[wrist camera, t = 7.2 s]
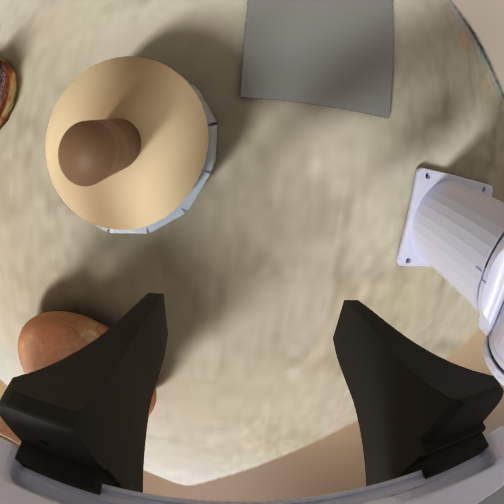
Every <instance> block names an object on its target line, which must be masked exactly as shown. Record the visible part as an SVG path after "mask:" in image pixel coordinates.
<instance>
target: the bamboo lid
mask: <svg viewBox="0 0 504 504" xmlns="http://www.w3.org/2000/svg"><path fill="white" fill-rule="evenodd" d="M208 140H209V133H208V123H207V118H206V114H205V111H204V108H203V105H202V103H201V101H200V99H199V97H198V95H197V93H196V92H195V91H194V89H193V88H192V87H191V85H190V84H189V83H188V82H187V81H186V80H185V79H184V78H183V77H182V76H181V75H179V74H178V73H177V72H175V71H174V70H173V69H171V68H170V67H168V66H166V65H164V64H162V63H160V62H158V61H155V60H152V59H149V58H143V57H129V56H127V57H119V58H114V59H110V60H106V61H104V62H101V63H99V64H97V65H94V66H93V67H91V68H89V69H88V70H86V71H85V72H83V73H82V74H81V75H79V76H78V77H77V78H76V79H75V80H74V81H73V82H72V83H71V84H70V85H69V86H68V87H67V89H66V90H65V91H64V92H63V94H62V95H61V97H60V99H59V100H58V102H57V104H56V106H55V108H54V110H53V112H52V115H51V118H50V121H49V124H48V129H47V134H46V160H47V166H48V170H49V174H50V177H51V179H52V182H53V184H54V186H55V188H56V190H57V192H58V194H59V195H60V197H61V198H62V199H63V201H64V202H65V203H66V204H67V205H68V206H69V207H70V209H71V210H73V211H74V212H75V213H76V214H77V215H79V216H80V217H82V218H83V219H85V220H86V221H88V222H90V223H93V224H95V225H97V226H100V227H104V228H108V229H114V230H131V229H138V228H142V227H146V226H148V225H151V224H153V223H156V222H158V221H159V220H161V219H163V218H165V217H166V216H168V215H169V214H170V213H172V212H173V211H174V210H175V209H176V208H177V207H178V206H179V205H180V204H182V202H183V201H184V200H185V199H186V197H187V196H188V195H189V194H190V192H191V190H192V189H193V187H194V186H195V184H196V182H197V180H198V178H199V176H200V174H201V172H202V170H203V167H204V164H205V160H206V156H207V151H208Z"/></svg>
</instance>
